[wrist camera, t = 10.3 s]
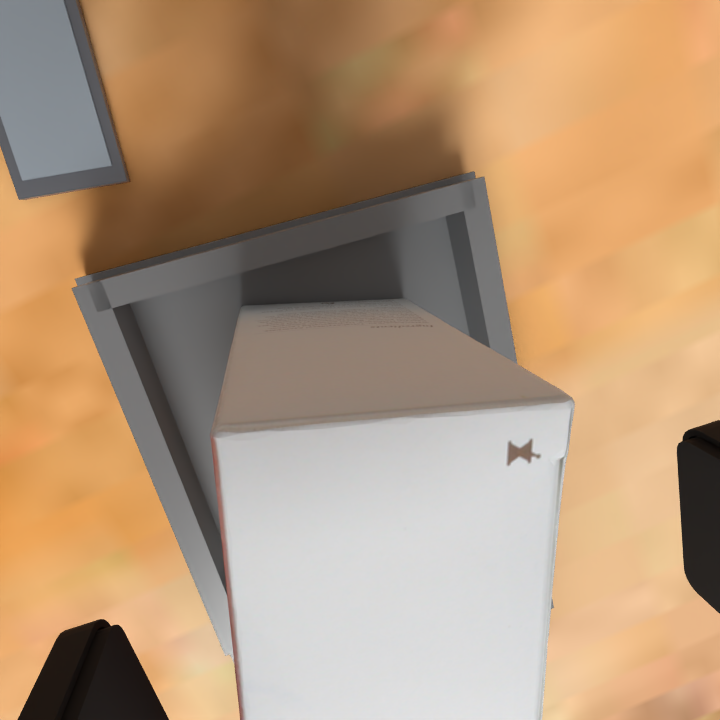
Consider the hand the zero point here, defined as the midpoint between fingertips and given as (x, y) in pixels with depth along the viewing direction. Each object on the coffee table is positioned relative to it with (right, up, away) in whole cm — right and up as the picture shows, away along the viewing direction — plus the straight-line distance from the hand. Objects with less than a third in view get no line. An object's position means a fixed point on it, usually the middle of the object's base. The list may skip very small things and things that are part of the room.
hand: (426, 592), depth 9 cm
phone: (-11, +12, +7) cm, 18 cm away
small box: (-2, +2, +10) cm, 11 cm away
